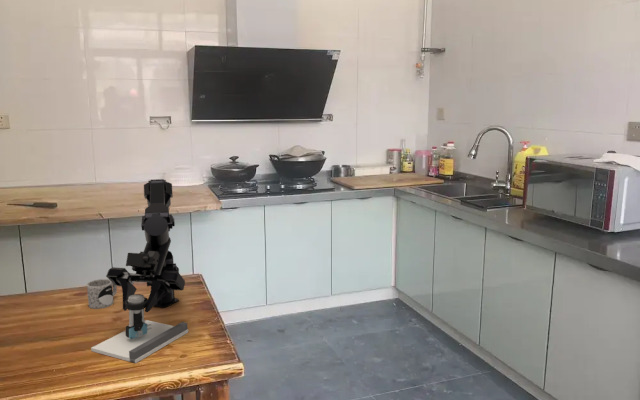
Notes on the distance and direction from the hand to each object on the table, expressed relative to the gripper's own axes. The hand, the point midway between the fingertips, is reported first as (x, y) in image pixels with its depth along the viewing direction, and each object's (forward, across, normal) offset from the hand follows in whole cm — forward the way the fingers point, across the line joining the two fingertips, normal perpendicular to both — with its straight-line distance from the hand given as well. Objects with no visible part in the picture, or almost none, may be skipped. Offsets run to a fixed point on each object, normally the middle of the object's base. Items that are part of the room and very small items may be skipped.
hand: (135, 310), depth 124 cm
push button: (+4, 0, +6) cm, 7 cm away
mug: (-10, -24, +23) cm, 34 cm away
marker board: (+5, +1, +7) cm, 8 cm away
